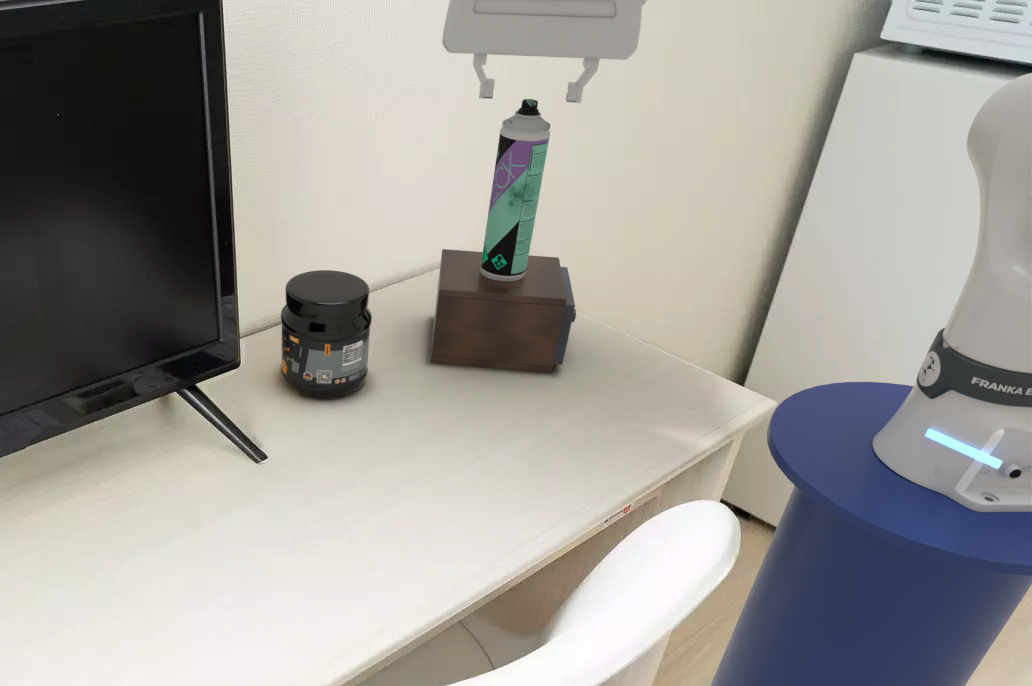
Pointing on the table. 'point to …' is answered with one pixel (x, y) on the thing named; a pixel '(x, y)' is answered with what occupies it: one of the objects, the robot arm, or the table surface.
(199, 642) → the table surface
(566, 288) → the drawer
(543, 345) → the cabinet
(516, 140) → the spray can
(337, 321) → the supplement container
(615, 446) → the table surface
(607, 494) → the table surface
